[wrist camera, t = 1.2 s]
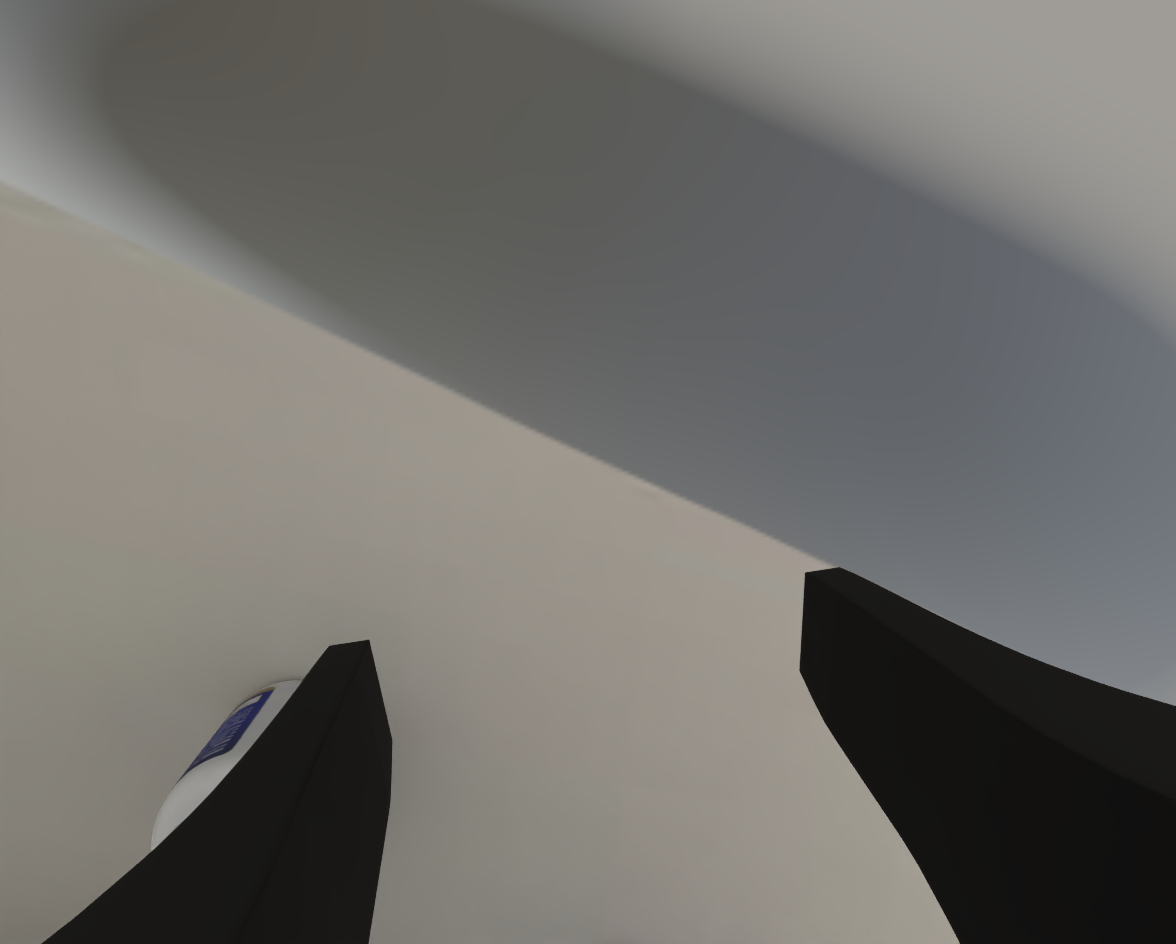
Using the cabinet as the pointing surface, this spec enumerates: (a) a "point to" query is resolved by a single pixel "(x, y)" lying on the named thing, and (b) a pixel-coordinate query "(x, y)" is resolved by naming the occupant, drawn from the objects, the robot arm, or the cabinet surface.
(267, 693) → the pill bottle
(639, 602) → the cabinet surface
